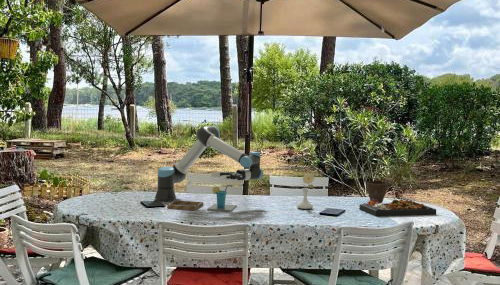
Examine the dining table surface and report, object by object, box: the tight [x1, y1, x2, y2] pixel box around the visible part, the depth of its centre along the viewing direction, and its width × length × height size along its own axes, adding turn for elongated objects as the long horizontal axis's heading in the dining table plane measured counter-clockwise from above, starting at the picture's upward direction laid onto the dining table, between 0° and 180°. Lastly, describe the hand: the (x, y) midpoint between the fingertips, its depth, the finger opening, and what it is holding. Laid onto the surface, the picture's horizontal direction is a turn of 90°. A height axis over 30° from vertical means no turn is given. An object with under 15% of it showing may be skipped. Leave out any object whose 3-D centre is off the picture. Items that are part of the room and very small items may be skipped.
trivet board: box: [206, 203, 238, 213], centre depth 424 cm, size 16×20×1 cm
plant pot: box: [366, 180, 388, 203], centre depth 457 cm, size 15×15×16 cm
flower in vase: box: [296, 173, 315, 210], centre depth 430 cm, size 13×11×25 cm
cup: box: [212, 184, 233, 208], centre depth 423 cm, size 14×8×15 cm, turn 114°
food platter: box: [359, 195, 437, 218], centre depth 427 cm, size 45×25×10 cm, turn 106°
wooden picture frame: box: [167, 199, 204, 211], centre depth 426 cm, size 20×18×2 cm
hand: (216, 176), depth 421 cm, fingers open, 13 cm apart
